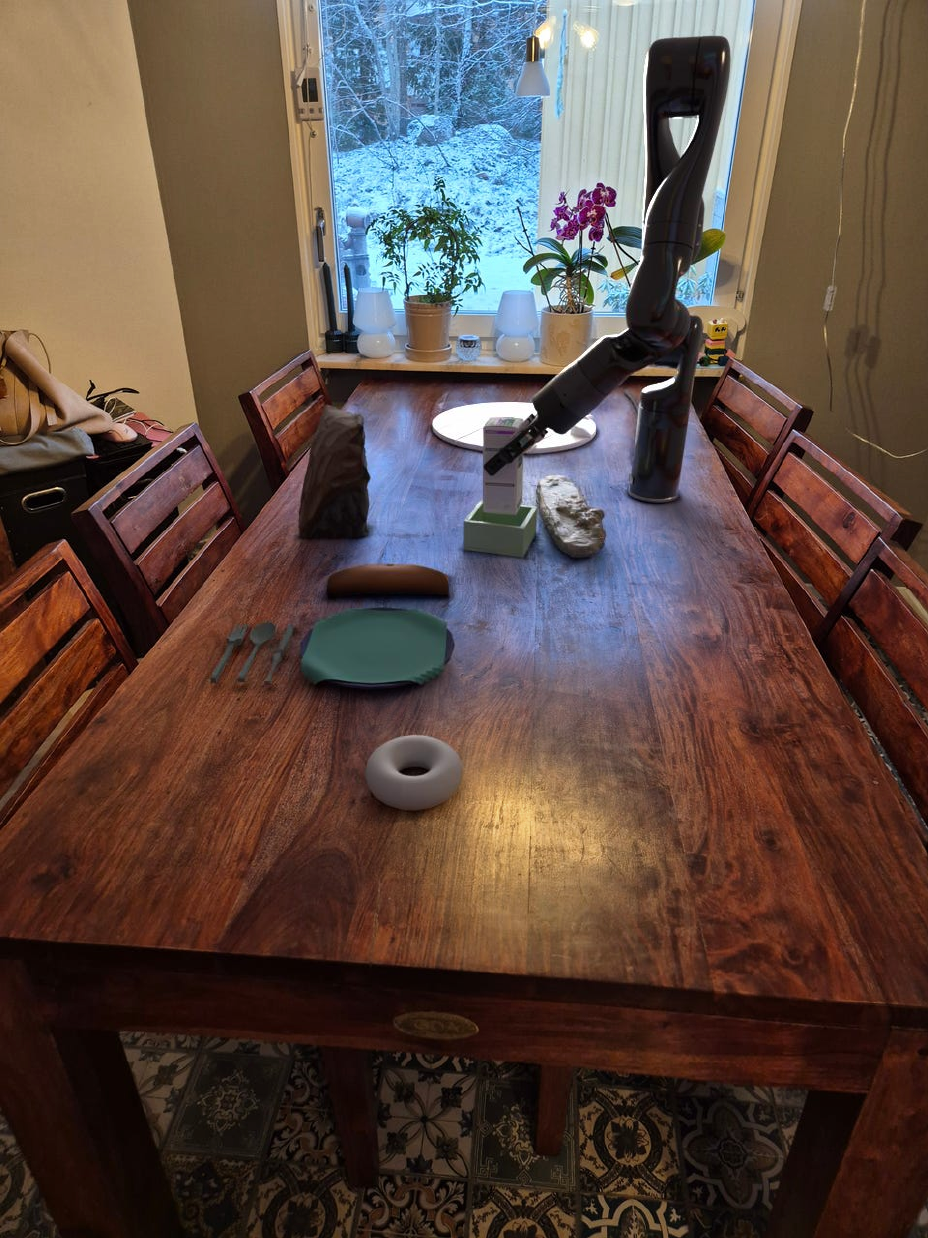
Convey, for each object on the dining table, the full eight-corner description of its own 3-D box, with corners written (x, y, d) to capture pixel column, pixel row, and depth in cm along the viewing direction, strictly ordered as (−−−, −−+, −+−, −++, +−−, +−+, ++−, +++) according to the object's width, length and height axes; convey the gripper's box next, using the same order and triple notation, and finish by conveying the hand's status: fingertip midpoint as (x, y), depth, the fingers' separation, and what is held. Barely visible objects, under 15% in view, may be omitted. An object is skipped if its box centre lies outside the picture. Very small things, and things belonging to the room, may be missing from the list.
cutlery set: (452, 701, 97) (452, 685, 96) (201, 697, 97) (198, 681, 96) (456, 619, 114) (456, 605, 113) (243, 616, 115) (241, 602, 114)
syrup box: (517, 515, 132) (520, 427, 125) (481, 512, 133) (482, 424, 126) (522, 503, 137) (525, 417, 130) (487, 500, 138) (489, 415, 131)
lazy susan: (624, 422, 201) (626, 409, 200) (552, 465, 173) (553, 450, 171) (486, 399, 220) (486, 386, 218) (400, 434, 191) (399, 419, 189)
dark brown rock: (323, 510, 149) (315, 401, 140) (389, 517, 147) (385, 406, 137) (295, 537, 139) (283, 421, 129) (365, 545, 136) (358, 427, 126)
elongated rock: (577, 493, 162) (527, 496, 162) (577, 467, 160) (527, 470, 159) (617, 559, 131) (555, 563, 130) (618, 528, 128) (555, 532, 128)
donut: (458, 752, 89) (366, 755, 88) (459, 726, 87) (365, 729, 87) (466, 816, 80) (364, 820, 80) (467, 789, 79) (363, 793, 78)
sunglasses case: (449, 572, 126) (449, 547, 121) (449, 611, 123) (449, 587, 117) (332, 572, 126) (327, 548, 120) (329, 612, 122) (324, 588, 117)
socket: (479, 527, 144) (480, 499, 141) (536, 534, 141) (537, 506, 138) (463, 549, 135) (463, 521, 133) (522, 557, 133) (523, 528, 130)
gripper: (563, 367, 129) (489, 434, 137) (544, 388, 116) (464, 460, 125) (594, 404, 130) (518, 468, 139) (578, 428, 118) (496, 497, 126)
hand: (493, 464), depth 132 cm, fingers closed on syrup box, 6 cm apart
